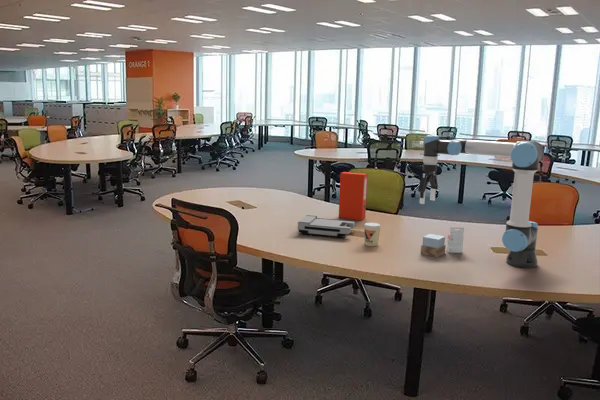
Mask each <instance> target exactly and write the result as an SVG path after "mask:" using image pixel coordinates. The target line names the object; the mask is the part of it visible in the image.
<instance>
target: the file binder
mask: <svg viewBox="0 0 600 400" xmlns="http://www.w3.org/2000/svg"><path fill="white" fill-rule="evenodd" d="M339 178H340V179H339V201H338V202H339V203H338V218H340V217H341V219H349V220H357V221H363V220H365V219H366V209H367V192H368V191H367V190H368V173H360V172H351V171H350V172H348V171H343V172H340V176H339ZM364 218H365V219H364Z"/></svg>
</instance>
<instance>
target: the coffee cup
mask: <svg viewBox="0 0 600 400" xmlns="http://www.w3.org/2000/svg"><path fill="white" fill-rule="evenodd" d="M363 226H364V230H363V231H364V245H365V246H369V247H376V246H378V245H379V241H380V232H381V224H380V223H378V222H366V223H364V225H363Z"/></svg>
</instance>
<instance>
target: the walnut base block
mask: <svg viewBox="0 0 600 400" xmlns="http://www.w3.org/2000/svg"><path fill="white" fill-rule="evenodd" d="M446 248H447V244H445V245H444V246H442V247H440V248H438V249H437V248H432V247H427V246H422V244H421V245H420V254H421V255H424V256H429V257H434V258H440V257H441V256H443V255H445V254H446Z"/></svg>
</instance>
